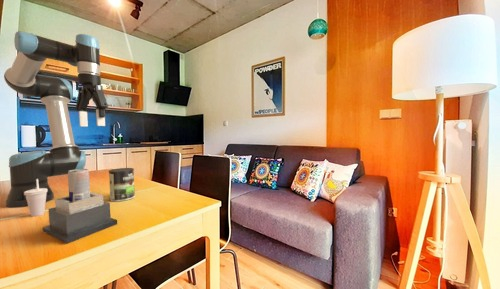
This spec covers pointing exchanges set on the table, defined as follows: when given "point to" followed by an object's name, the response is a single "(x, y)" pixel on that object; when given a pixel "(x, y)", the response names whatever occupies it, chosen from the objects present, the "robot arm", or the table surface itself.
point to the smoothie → (36, 200)
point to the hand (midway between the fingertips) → (92, 126)
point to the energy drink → (78, 184)
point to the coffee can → (121, 184)
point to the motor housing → (78, 218)
